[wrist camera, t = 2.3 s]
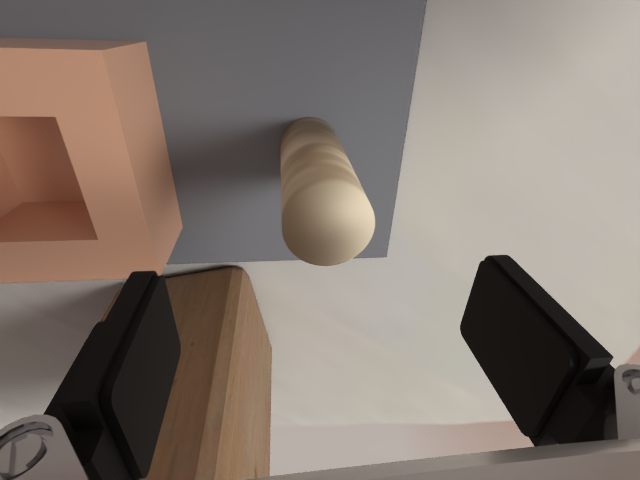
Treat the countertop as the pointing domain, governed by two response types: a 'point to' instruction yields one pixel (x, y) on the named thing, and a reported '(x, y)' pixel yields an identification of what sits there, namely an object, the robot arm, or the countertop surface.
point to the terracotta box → (82, 162)
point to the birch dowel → (321, 196)
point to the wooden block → (216, 382)
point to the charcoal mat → (257, 100)
